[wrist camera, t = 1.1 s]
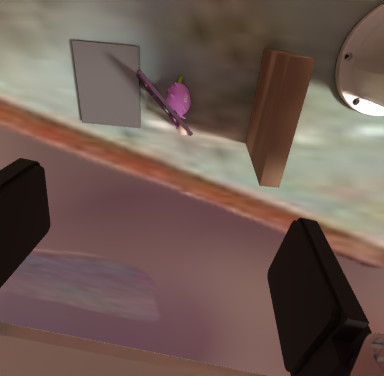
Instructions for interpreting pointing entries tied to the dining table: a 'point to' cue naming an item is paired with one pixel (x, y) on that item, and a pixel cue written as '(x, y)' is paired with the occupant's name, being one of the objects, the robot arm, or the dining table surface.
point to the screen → (276, 112)
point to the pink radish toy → (171, 101)
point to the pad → (108, 83)
